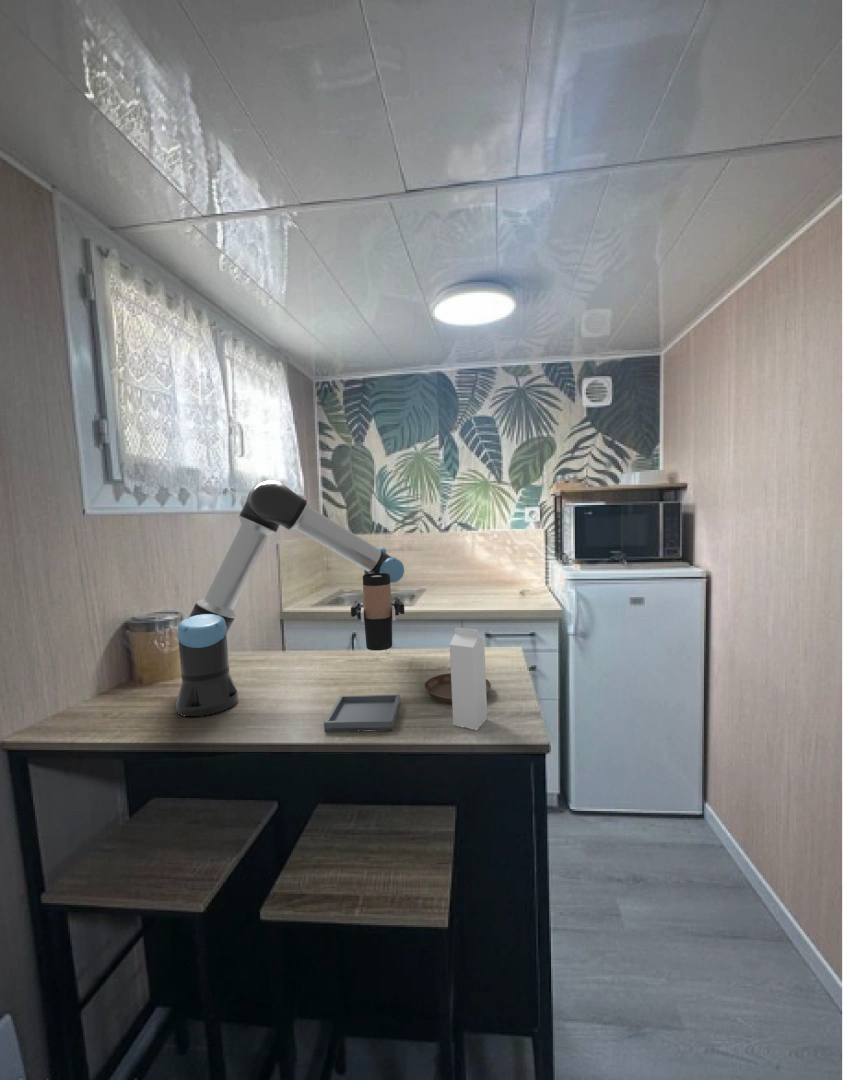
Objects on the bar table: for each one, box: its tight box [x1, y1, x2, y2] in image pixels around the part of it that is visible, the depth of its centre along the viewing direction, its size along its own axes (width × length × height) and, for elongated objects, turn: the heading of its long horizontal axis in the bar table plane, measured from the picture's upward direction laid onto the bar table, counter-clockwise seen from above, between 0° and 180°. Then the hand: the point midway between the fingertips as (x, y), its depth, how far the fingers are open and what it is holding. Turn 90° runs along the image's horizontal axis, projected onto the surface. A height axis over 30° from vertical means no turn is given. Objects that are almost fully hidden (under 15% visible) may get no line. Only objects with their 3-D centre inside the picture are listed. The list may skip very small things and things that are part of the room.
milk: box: [449, 627, 488, 730], centre depth 111 cm, size 6×6×22 cm
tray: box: [323, 693, 401, 733], centre depth 117 cm, size 16×16×2 cm
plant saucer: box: [423, 672, 492, 706], centre depth 128 cm, size 18×18×3 cm
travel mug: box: [362, 573, 393, 651], centre depth 133 cm, size 8×8×20 cm
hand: (378, 616), depth 128 cm, fingers closed on travel mug, 8 cm apart
